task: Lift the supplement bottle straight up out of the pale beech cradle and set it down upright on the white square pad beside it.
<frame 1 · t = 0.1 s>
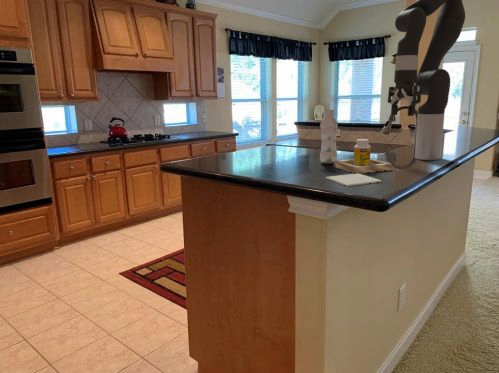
hand: (402, 115, 142), 17 cm above the countertop, tool pointing down, fingers open, 8 cm apart
supplement bottle: (361, 169, 137), resting in beech cradle
beech cradle: (361, 168, 137), on the countertop
white square pad: (352, 180, 120), on the countertop
plastic bottle: (328, 164, 148), on the countertop
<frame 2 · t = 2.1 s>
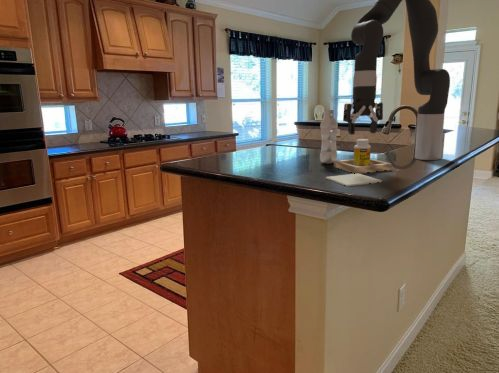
hand: (362, 133, 133), 12 cm above the countertop, tool pointing down, fingers open, 8 cm apart
nothing on the countertop moved.
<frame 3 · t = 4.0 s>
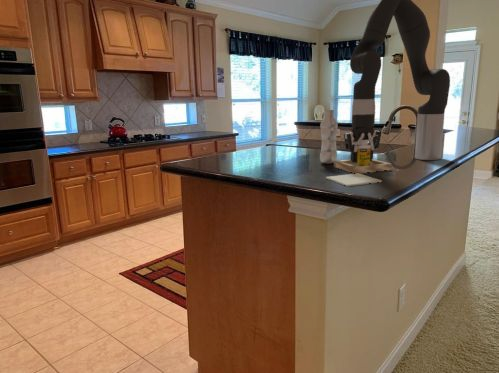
hand: (361, 161, 136), 3 cm above the countertop, tool pointing down, fingers closed on supplement bottle, 5 cm apart
supplement bottle: (361, 169, 137), resting in beech cradle, touching gripper
everything else where it was.
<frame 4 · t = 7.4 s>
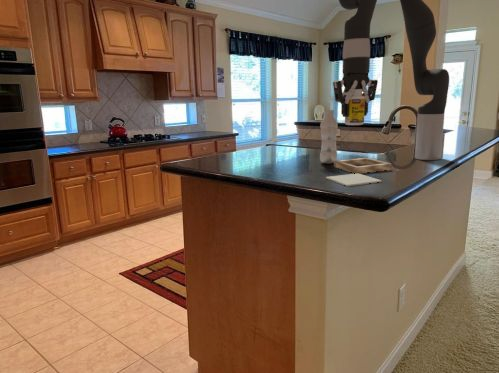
hand: (354, 116, 115), 20 cm above the countertop, tool pointing down, fingers closed on supplement bottle, 5 cm apart
supplement bottle: (354, 125, 116), point 17 cm above the countertop, touching gripper
everything else where it was.
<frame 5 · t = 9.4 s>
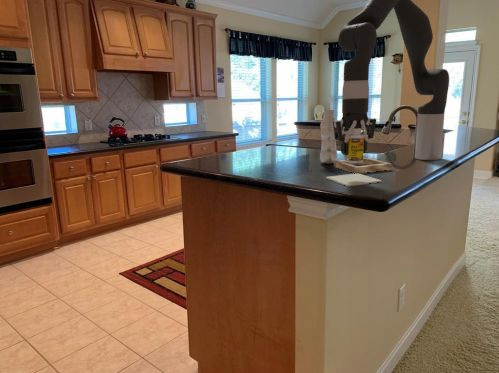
hand: (353, 153, 118), 8 cm above the countertop, tool pointing down, fingers closed on supplement bottle, 5 cm apart
supplement bottle: (353, 162, 118), point 6 cm above the countertop, touching gripper
everything else where it was.
when the fingers open (4 cm above the countertop, at t = 11.2 s): supplement bottle drops 1 cm, resting on white square pad.
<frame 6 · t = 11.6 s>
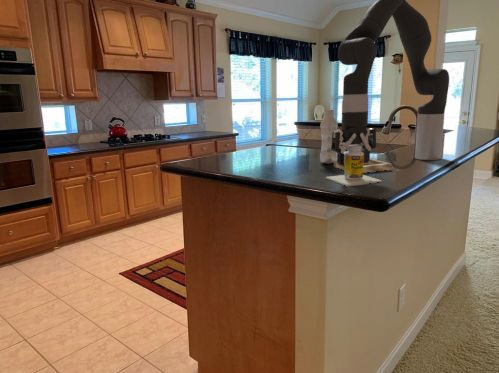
hand: (353, 164, 118), 5 cm above the countertop, tool pointing down, fingers open, 8 cm apart
supplement bottle: (353, 179, 120), resting on white square pad
everything else where it was.
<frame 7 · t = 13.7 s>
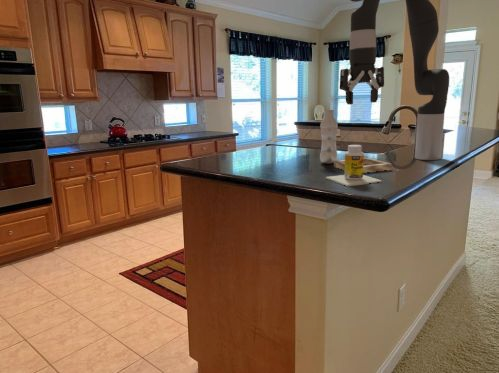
hand: (361, 103, 118), 23 cm above the countertop, tool pointing down, fingers open, 8 cm apart
nothing on the countertop moved.
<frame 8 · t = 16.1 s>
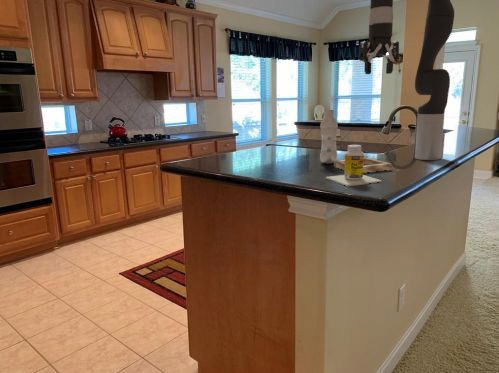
hand: (378, 73, 133), 32 cm above the countertop, tool pointing down, fingers open, 8 cm apart
nothing on the countertop moved.
at the end: supplement bottle inside the target area on the white square pad (0.3 cm from its centre), point 0.3 cm above the white square pad's base; supplement bottle tilted 0°; the gripper is holding nothing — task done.
